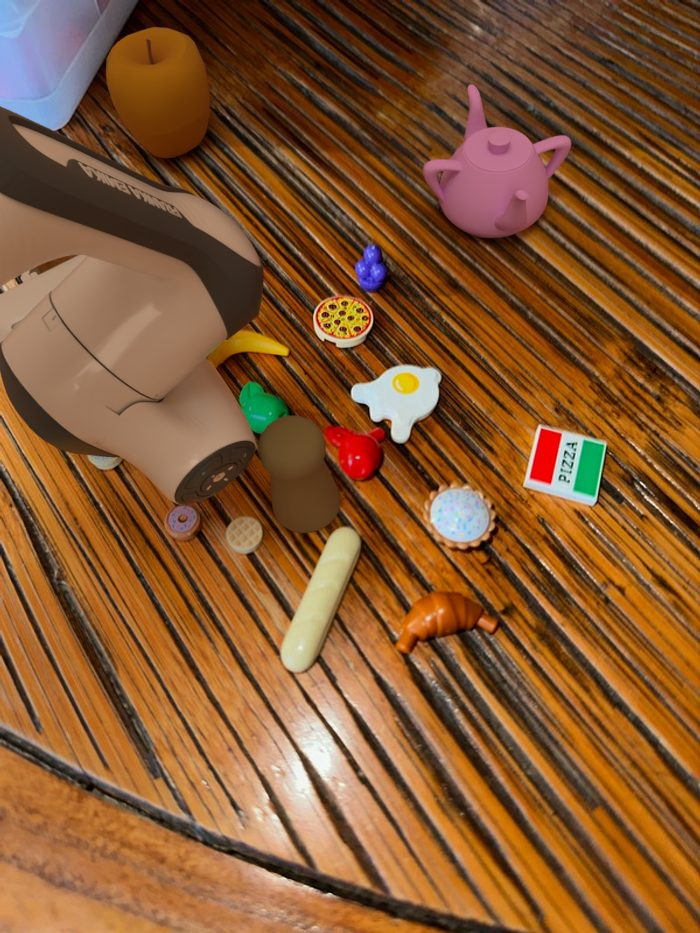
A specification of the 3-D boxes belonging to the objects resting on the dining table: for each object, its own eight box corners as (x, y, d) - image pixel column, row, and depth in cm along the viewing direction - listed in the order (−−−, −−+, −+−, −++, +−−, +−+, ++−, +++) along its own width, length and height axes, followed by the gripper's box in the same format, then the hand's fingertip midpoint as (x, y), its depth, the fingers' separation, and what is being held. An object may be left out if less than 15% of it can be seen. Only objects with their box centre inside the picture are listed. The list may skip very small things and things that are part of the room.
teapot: (515, 266, 78) (526, 198, 70) (404, 213, 83) (403, 144, 75) (574, 197, 82) (591, 125, 74) (465, 150, 87) (470, 78, 79)
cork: (307, 546, 64) (289, 487, 55) (257, 504, 67) (232, 440, 57) (355, 498, 66) (345, 432, 57) (305, 458, 69) (288, 389, 59)
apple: (187, 188, 87) (154, 85, 76) (114, 161, 90) (71, 57, 79) (240, 130, 91) (216, 24, 80) (168, 106, 94) (136, 0, 83)
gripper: (228, 251, 61) (152, 159, 67) (-10, 375, 57) (-68, 265, 63) (243, 303, 66) (172, 214, 73) (28, 421, 62) (-29, 315, 68)
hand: (59, 239), depth 68 cm, fingers closed on supplement box, 4 cm apart
